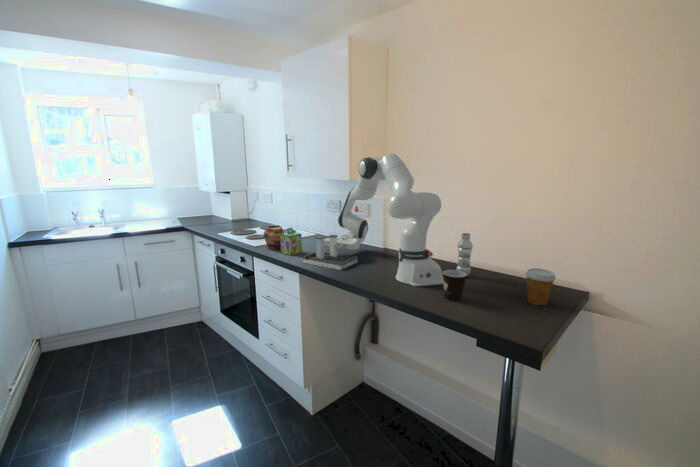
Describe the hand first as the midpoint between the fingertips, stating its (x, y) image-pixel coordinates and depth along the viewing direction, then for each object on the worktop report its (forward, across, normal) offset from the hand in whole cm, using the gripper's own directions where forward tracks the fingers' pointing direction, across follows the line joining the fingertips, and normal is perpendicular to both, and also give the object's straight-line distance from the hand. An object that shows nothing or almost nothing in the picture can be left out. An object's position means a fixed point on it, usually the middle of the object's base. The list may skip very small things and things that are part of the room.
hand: (332, 246), depth 170 cm
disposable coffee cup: (+3, +96, +8) cm, 96 cm away
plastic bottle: (-13, +65, +8) cm, 67 cm away
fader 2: (-1, 0, +6) cm, 6 cm away
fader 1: (+6, -4, +6) cm, 9 cm away
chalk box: (-1, -31, +8) cm, 32 cm away
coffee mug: (+14, +67, +8) cm, 69 cm away
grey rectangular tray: (+3, 0, +8) cm, 8 cm away
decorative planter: (-5, -48, +8) cm, 49 cm away
